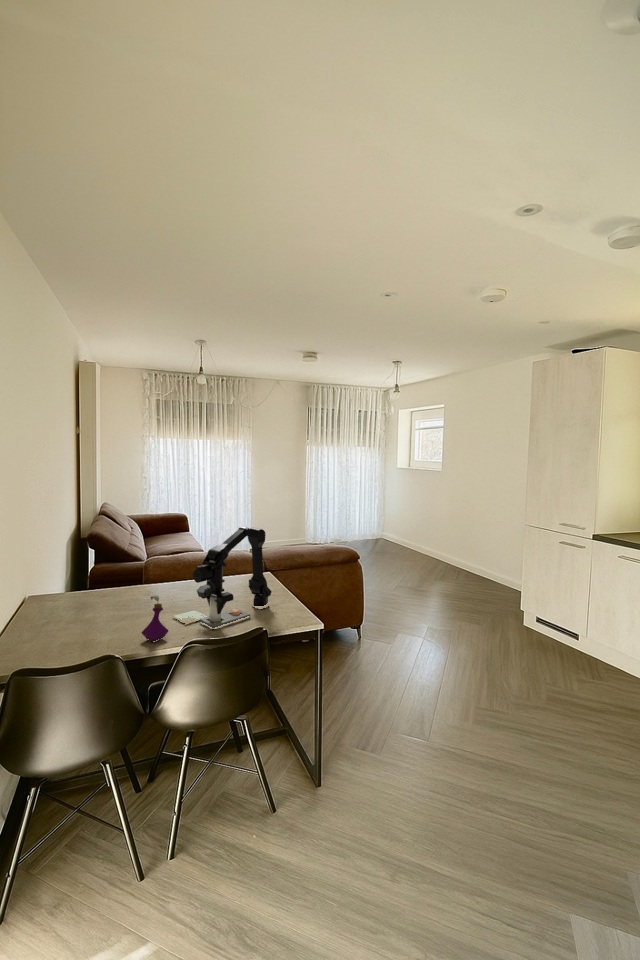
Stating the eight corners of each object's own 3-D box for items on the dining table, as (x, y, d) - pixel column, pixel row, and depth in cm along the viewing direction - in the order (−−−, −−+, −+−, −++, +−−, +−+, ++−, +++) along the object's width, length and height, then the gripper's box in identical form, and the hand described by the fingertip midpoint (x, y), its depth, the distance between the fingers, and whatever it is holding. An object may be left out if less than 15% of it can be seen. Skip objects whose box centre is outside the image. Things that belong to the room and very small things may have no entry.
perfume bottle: (168, 638, 182) (169, 595, 181) (153, 645, 176) (153, 600, 174) (156, 634, 186) (156, 591, 184) (141, 640, 179) (141, 596, 178)
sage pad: (194, 612, 211) (194, 610, 211) (207, 618, 204) (207, 616, 204) (172, 618, 203) (172, 616, 203) (185, 625, 196) (185, 623, 196)
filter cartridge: (216, 617, 201) (217, 593, 201) (223, 620, 198) (223, 596, 197) (207, 620, 198) (207, 596, 197) (213, 623, 194) (214, 599, 194)
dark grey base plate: (236, 612, 213) (237, 608, 213) (250, 618, 206) (250, 614, 206) (200, 623, 198) (200, 619, 198) (213, 630, 191) (213, 625, 191)
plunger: (236, 614, 209) (236, 608, 209) (241, 617, 206) (241, 610, 206) (229, 617, 206) (229, 610, 206) (234, 619, 203) (234, 613, 203)
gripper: (188, 576, 197) (187, 611, 198) (212, 586, 184) (211, 623, 185) (209, 571, 205) (209, 605, 206) (234, 581, 192) (233, 616, 194)
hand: (215, 612), depth 198 cm, fingers closed on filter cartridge, 5 cm apart
